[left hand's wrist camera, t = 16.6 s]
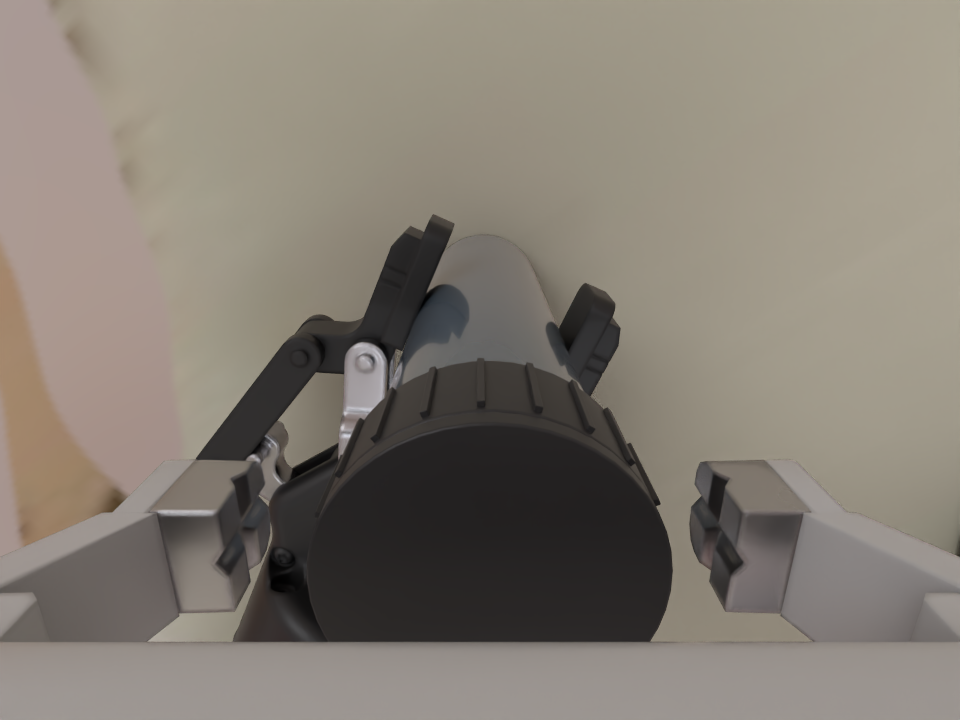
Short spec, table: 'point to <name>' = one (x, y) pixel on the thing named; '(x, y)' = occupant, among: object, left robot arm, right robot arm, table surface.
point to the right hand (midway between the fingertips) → (520, 260)
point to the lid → (489, 518)
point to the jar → (484, 314)
